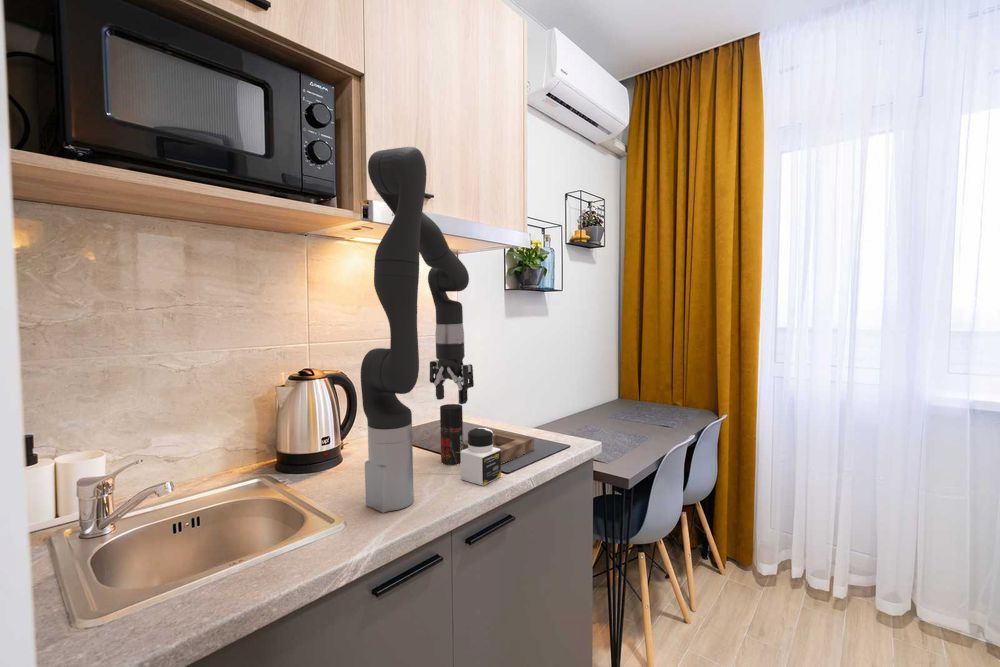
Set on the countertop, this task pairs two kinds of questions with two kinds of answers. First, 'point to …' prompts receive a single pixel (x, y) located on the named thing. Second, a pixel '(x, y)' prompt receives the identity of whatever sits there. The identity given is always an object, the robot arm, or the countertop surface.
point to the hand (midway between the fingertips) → (451, 401)
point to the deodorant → (451, 433)
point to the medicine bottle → (480, 458)
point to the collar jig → (509, 444)
